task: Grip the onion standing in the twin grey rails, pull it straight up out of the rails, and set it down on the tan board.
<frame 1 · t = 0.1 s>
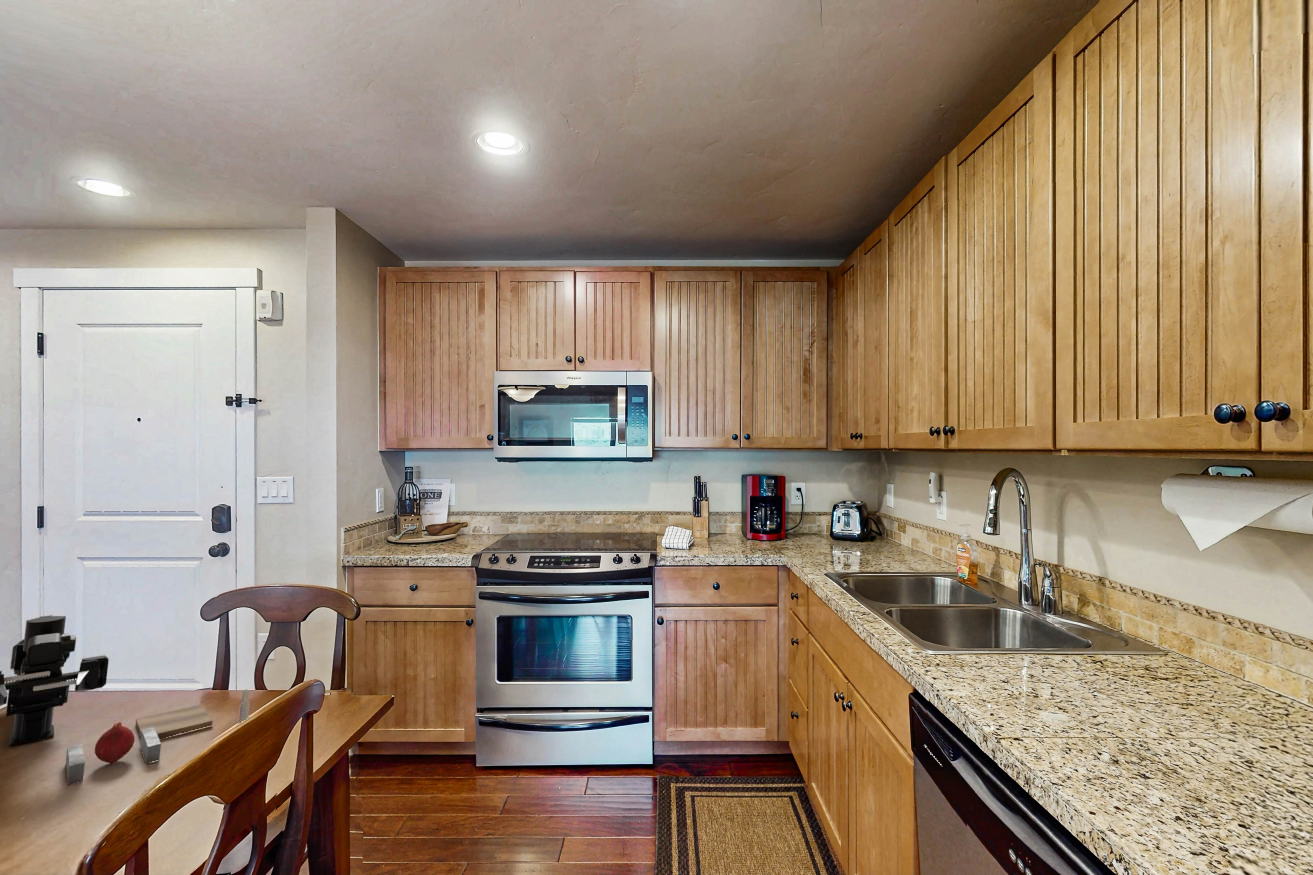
hand: (42, 693, 106), 17 cm above the table, tool horizontal, fingers open, 9 cm apart
onion: (112, 764, 113), on the table
twin grey rails: (113, 762, 113), on the table
tan board: (173, 726, 130), on the table
screw: (240, 752, 120), on the table
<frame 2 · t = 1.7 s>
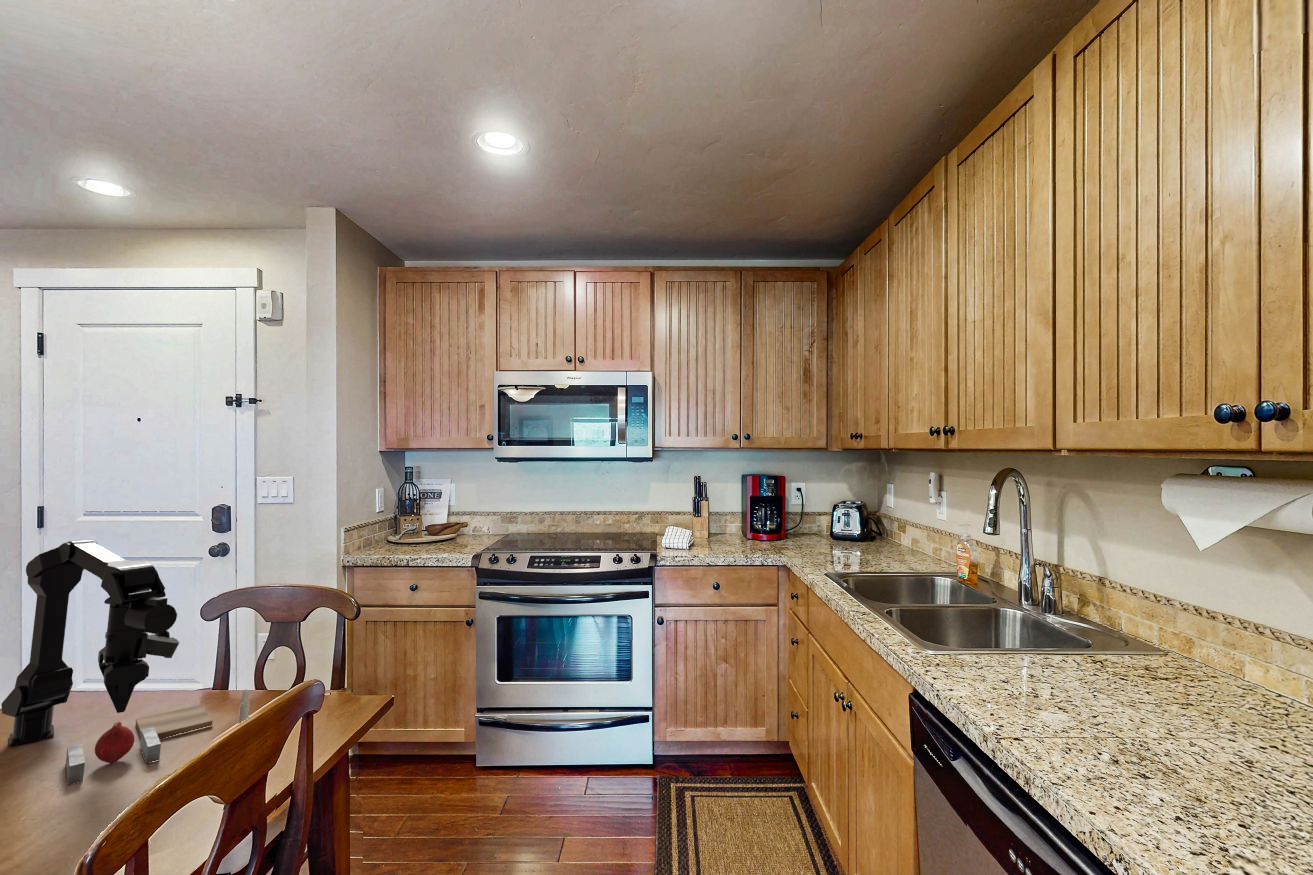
hand: (118, 704, 114), 11 cm above the table, tool pointing down, fingers open, 9 cm apart
nothing on the table moved.
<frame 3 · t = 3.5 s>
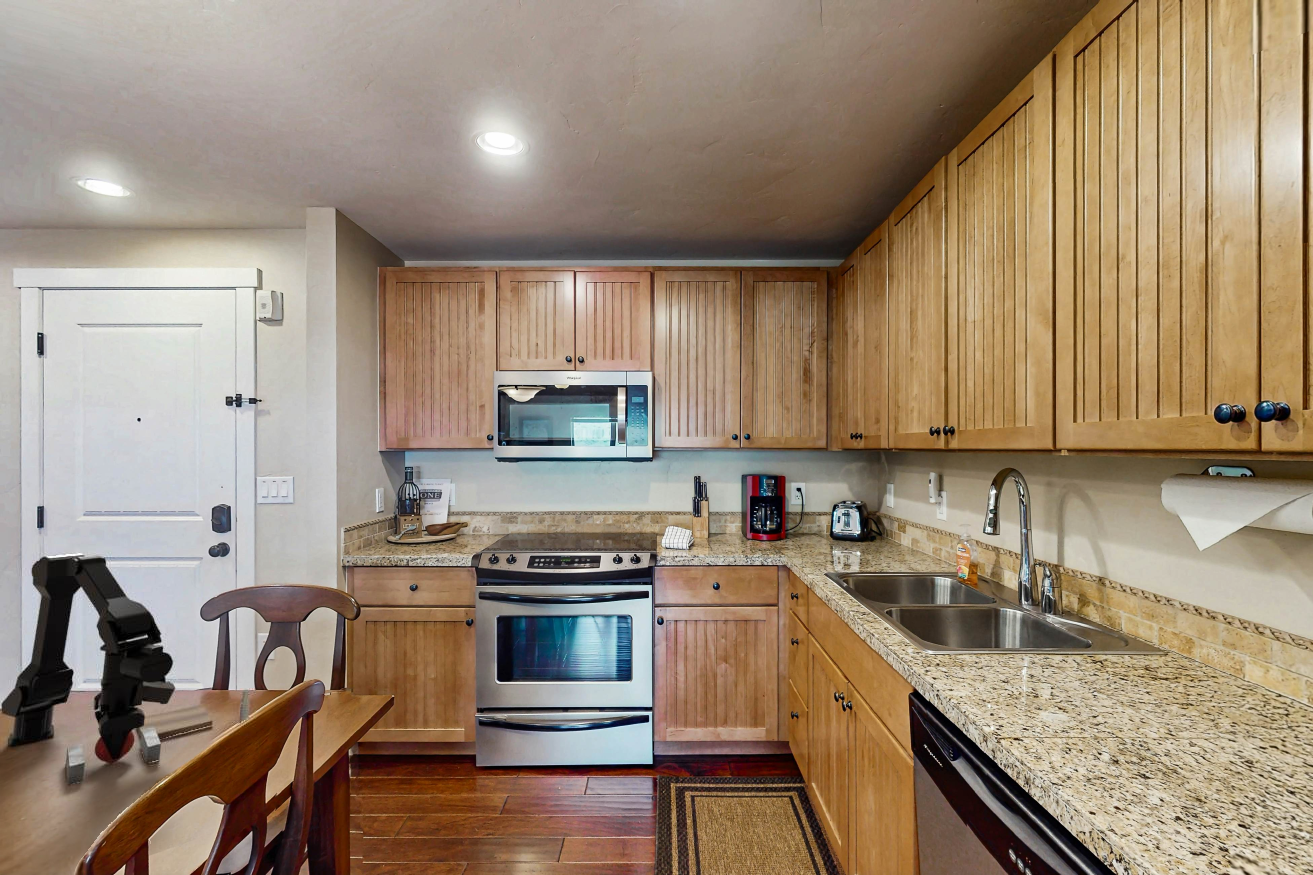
hand: (113, 752, 113), 2 cm above the table, tool pointing down, fingers closed on onion, 6 cm apart
onion: (112, 763, 113), on the table, touching gripper
everything else where it was.
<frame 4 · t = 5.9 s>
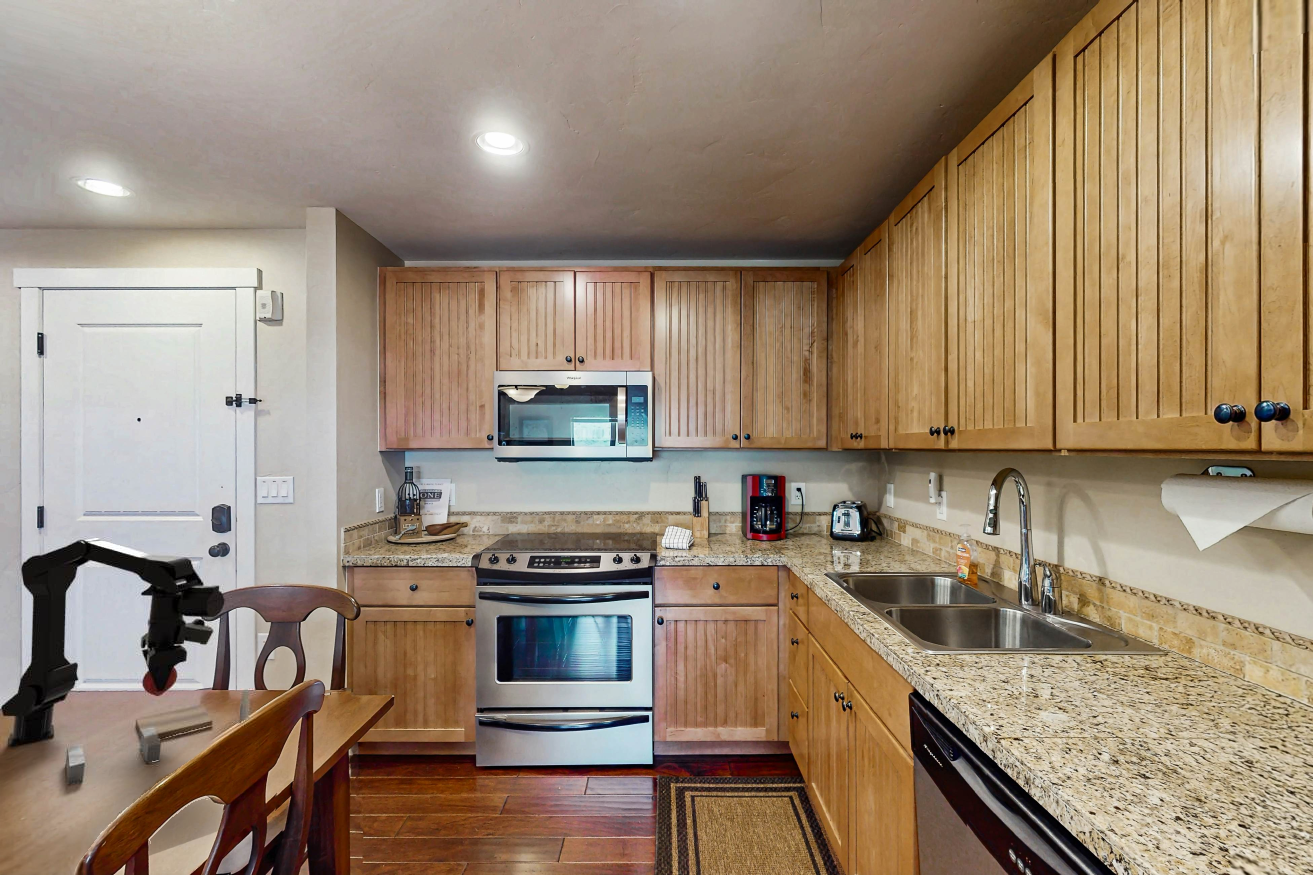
hand: (159, 686, 125), 11 cm above the table, tool pointing down, fingers closed on onion, 6 cm apart
onion: (158, 696, 124), point 9 cm above the table, touching gripper
everything else where it was.
when the fingers open (5 cm above the table, at t = 8.3 s): onion drops 1 cm, resting on tan board.
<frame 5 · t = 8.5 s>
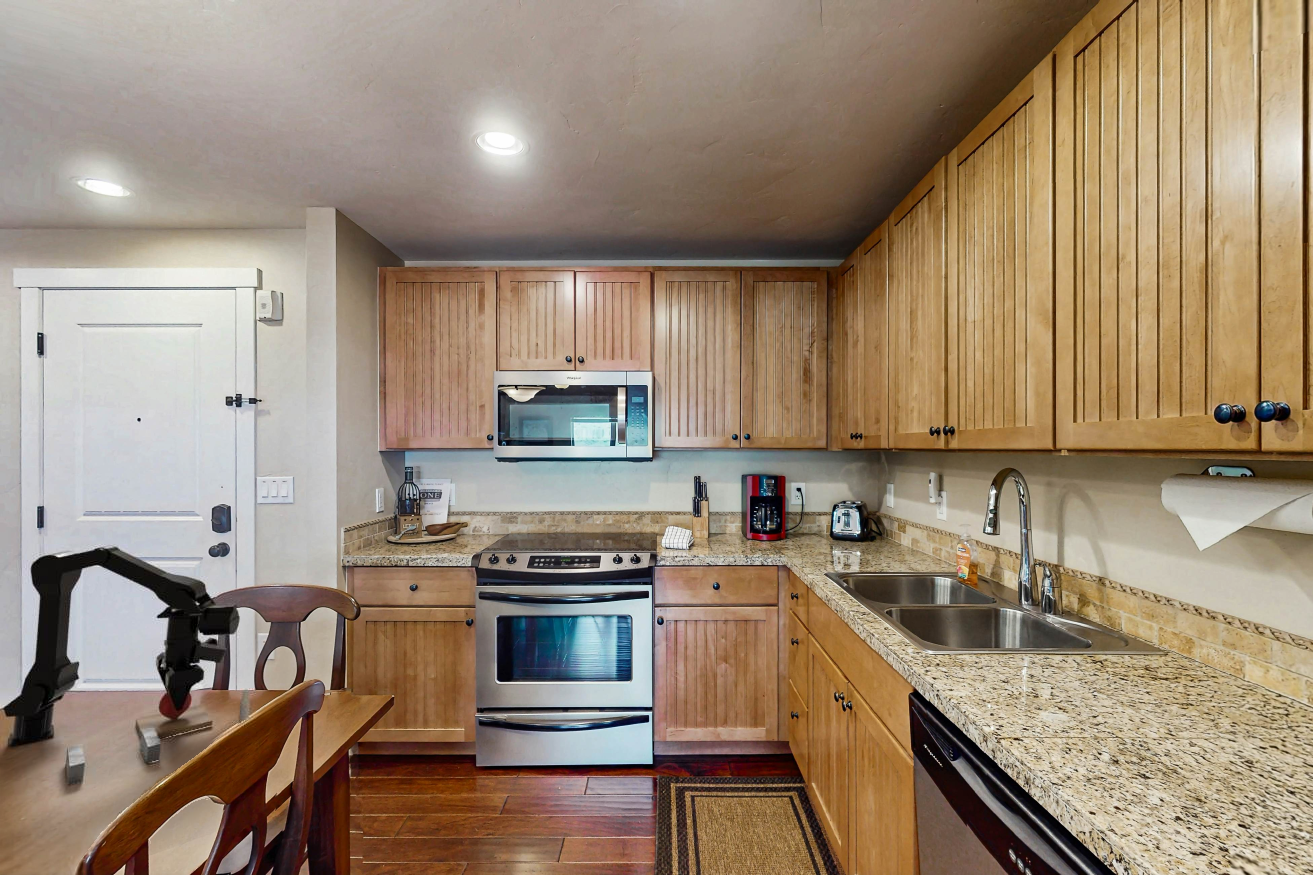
hand: (175, 704, 130), 5 cm above the table, tool pointing down, fingers open, 8 cm apart
onion: (174, 720, 130), point 1 cm above the table, touching tan board
everything else where it was.
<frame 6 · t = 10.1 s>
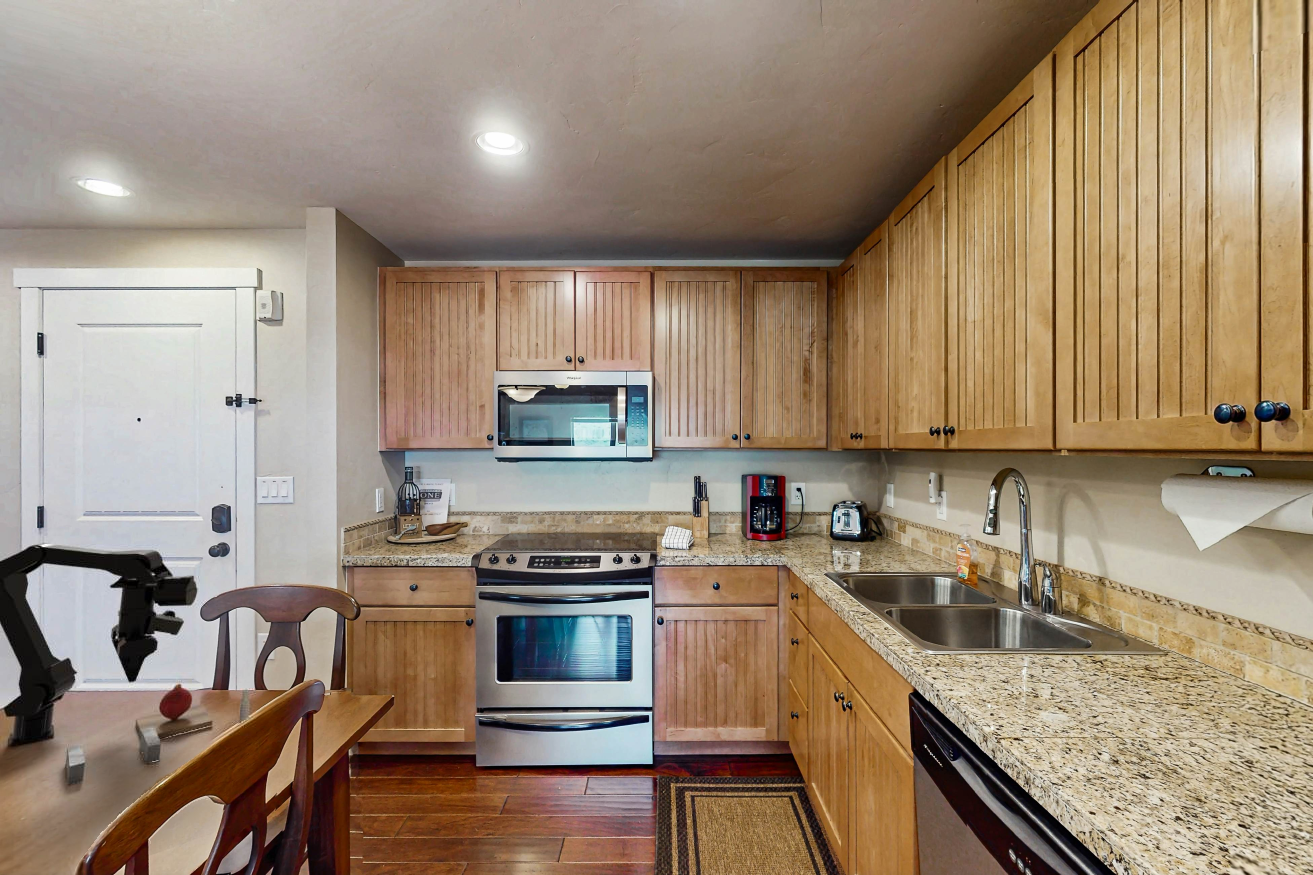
hand: (129, 675, 128), 12 cm above the table, tool pointing down, fingers open, 9 cm apart
nothing on the table moved.
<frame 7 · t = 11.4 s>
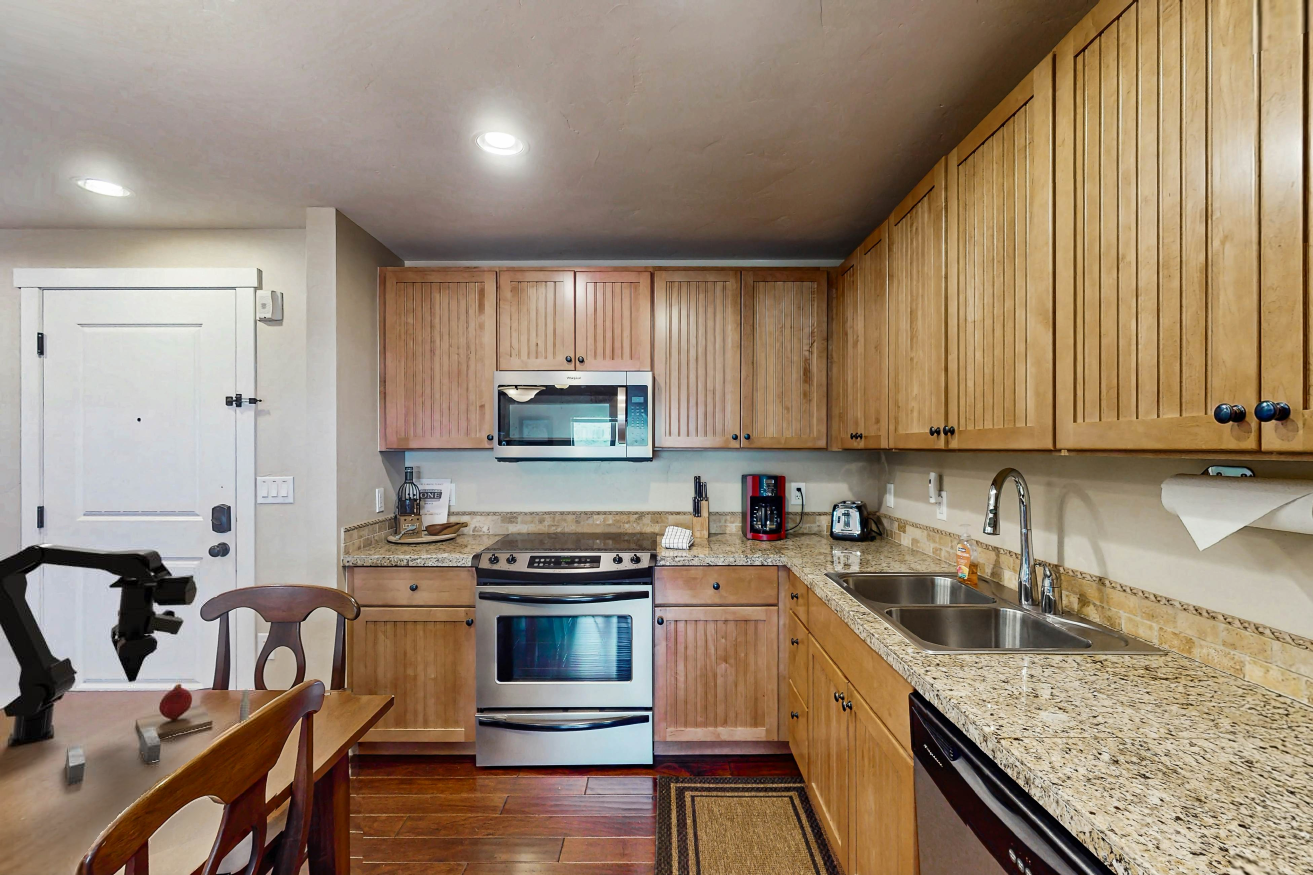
hand: (129, 675, 128), 12 cm above the table, tool pointing down, fingers open, 9 cm apart
nothing on the table moved.
at the end: onion inside the target area on the tan board (0.0 cm from its centre), point 1.3 cm above the tan board's base; onion touching tan board; the gripper is holding nothing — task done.
